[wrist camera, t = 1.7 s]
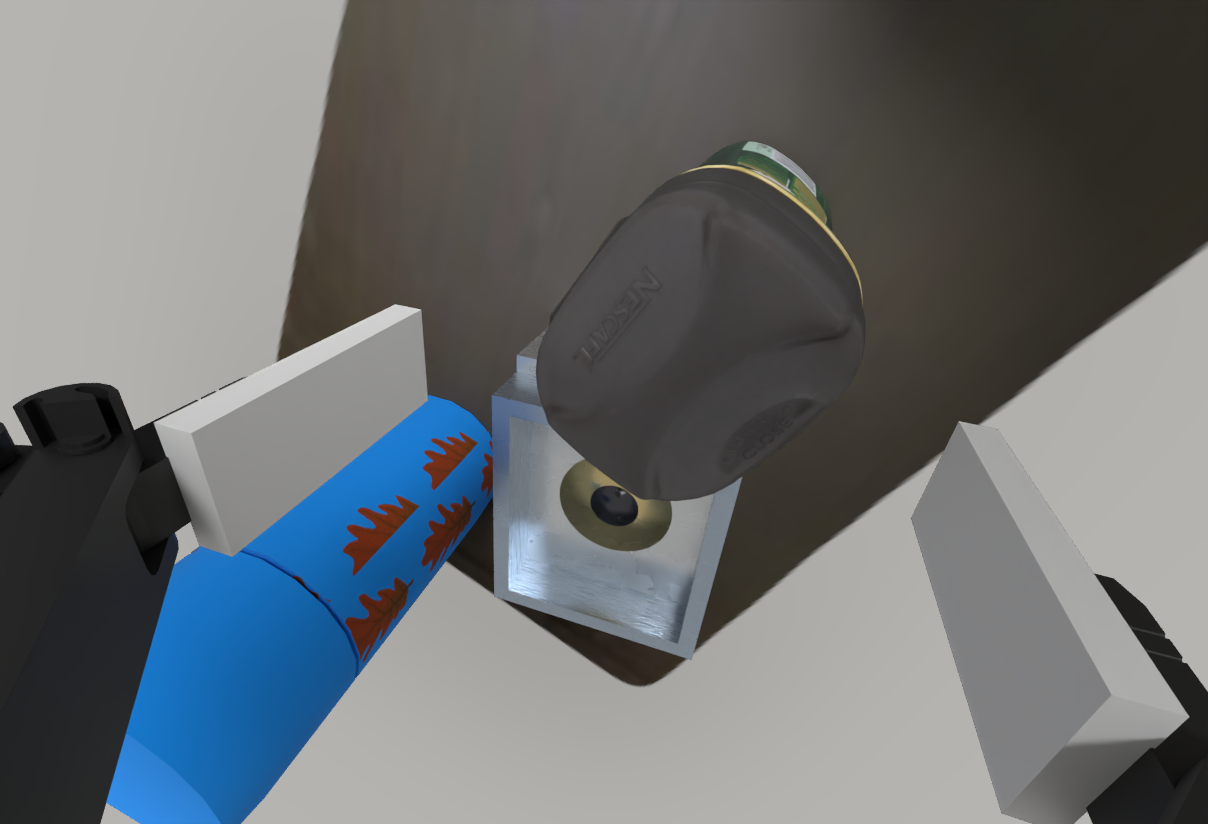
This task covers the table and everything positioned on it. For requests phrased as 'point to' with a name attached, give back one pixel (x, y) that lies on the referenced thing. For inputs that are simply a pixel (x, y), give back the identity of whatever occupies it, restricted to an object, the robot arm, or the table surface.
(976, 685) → the robot arm
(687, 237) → the coffee jar
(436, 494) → the thermos
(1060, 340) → the table surface
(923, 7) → the table surface
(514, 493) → the open grey metal box
